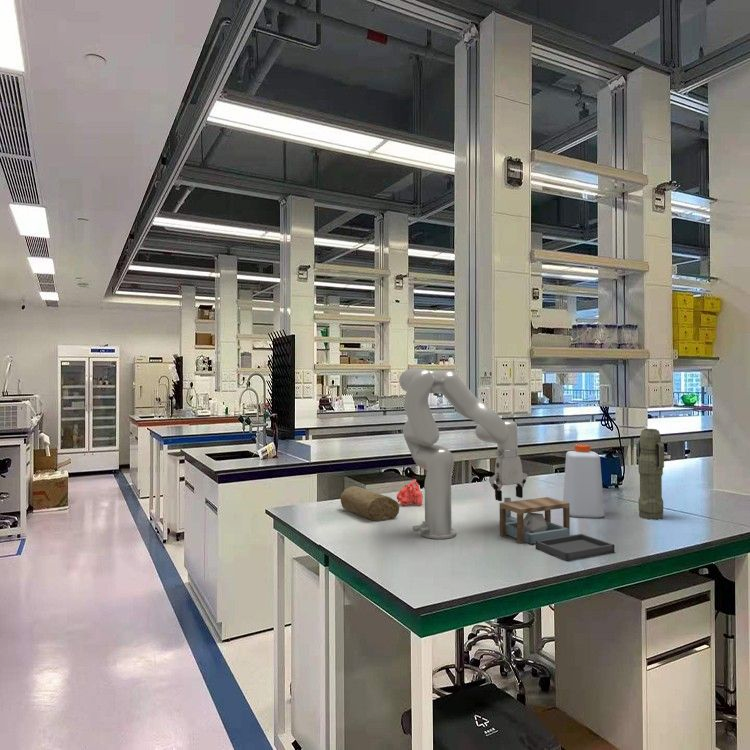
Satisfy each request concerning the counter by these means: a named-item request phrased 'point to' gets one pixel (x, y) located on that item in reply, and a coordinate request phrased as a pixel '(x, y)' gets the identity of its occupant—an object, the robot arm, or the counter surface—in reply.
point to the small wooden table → (532, 506)
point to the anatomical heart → (410, 494)
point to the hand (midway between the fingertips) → (509, 498)
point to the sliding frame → (550, 532)
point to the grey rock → (534, 523)
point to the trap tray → (574, 547)
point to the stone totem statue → (650, 474)
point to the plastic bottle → (583, 483)
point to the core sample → (369, 504)
